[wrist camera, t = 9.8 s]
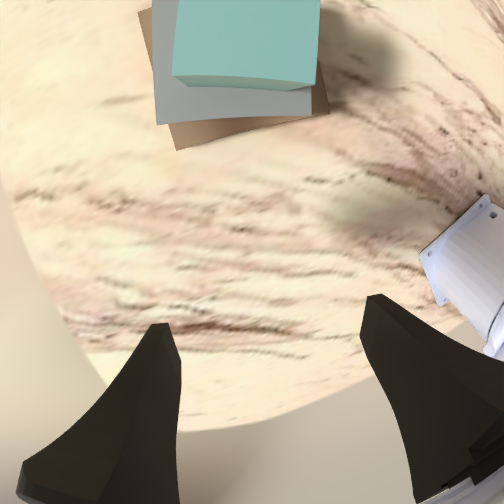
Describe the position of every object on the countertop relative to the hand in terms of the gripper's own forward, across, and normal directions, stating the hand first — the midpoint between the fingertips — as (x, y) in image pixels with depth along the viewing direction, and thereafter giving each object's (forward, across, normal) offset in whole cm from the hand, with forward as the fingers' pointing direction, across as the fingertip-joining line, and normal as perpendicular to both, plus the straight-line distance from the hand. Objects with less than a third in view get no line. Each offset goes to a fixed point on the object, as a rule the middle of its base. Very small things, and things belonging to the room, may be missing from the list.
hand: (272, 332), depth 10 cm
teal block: (+7, 0, -11) cm, 13 cm away
